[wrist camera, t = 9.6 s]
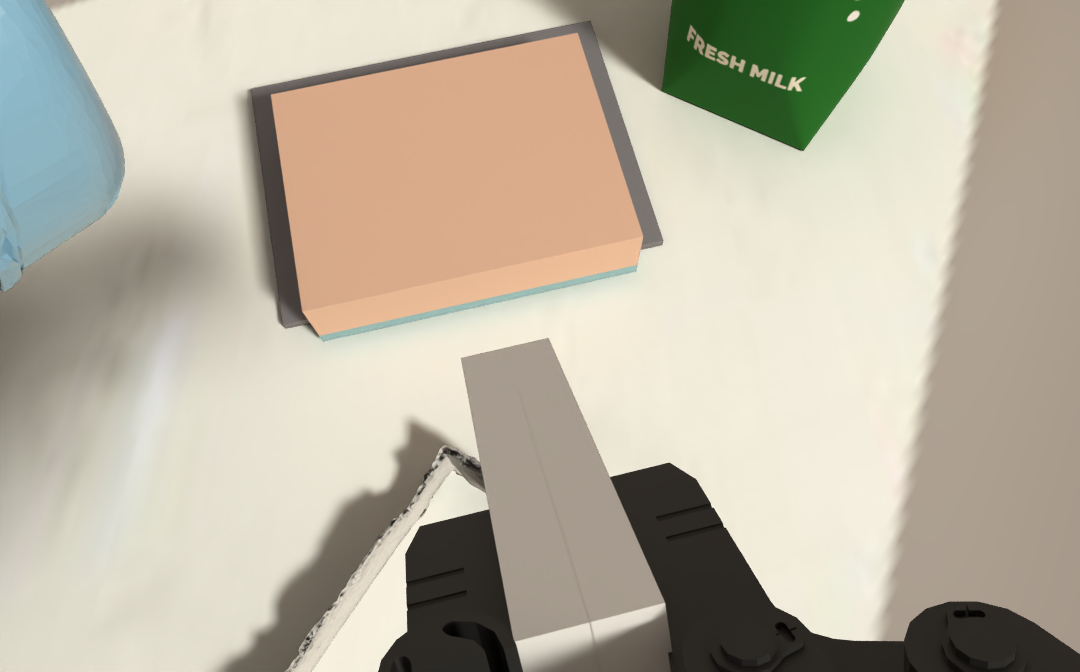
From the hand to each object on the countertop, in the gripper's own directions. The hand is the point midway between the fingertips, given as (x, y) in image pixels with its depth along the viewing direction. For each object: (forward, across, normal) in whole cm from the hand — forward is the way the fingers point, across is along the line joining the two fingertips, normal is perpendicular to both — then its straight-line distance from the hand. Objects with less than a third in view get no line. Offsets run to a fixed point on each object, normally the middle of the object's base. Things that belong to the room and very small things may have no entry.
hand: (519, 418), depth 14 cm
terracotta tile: (+18, 0, -4) cm, 19 cm away
